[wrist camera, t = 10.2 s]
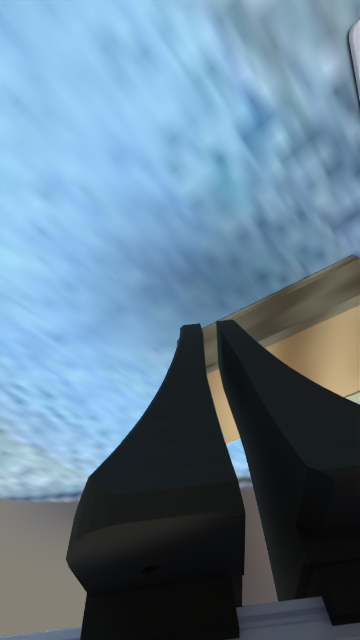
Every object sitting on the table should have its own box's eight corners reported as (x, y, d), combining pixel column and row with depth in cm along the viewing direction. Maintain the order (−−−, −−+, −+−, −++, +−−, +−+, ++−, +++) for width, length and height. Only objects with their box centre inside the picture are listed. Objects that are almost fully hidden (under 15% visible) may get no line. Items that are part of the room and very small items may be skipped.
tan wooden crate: (353, 254, 21) (403, 285, 17) (370, 327, 24) (416, 367, 20) (177, 340, 24) (181, 385, 19) (214, 395, 27) (225, 443, 23)
